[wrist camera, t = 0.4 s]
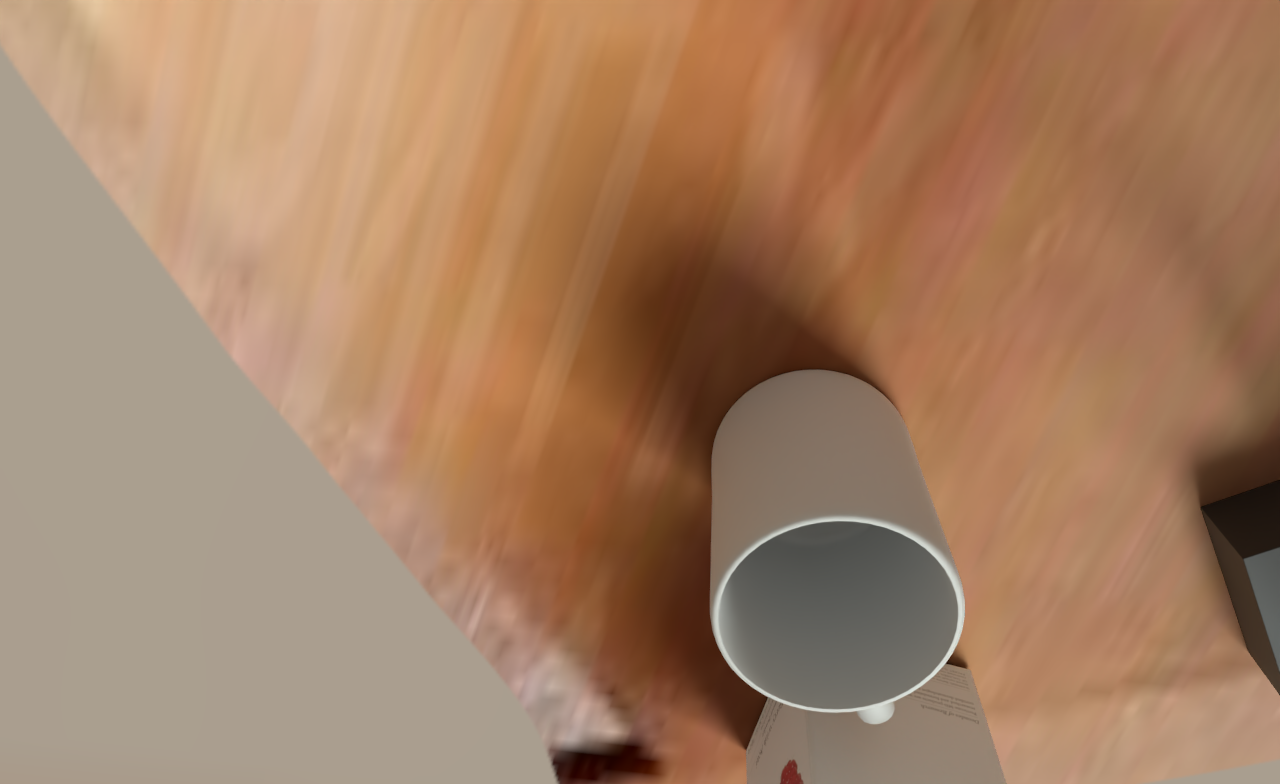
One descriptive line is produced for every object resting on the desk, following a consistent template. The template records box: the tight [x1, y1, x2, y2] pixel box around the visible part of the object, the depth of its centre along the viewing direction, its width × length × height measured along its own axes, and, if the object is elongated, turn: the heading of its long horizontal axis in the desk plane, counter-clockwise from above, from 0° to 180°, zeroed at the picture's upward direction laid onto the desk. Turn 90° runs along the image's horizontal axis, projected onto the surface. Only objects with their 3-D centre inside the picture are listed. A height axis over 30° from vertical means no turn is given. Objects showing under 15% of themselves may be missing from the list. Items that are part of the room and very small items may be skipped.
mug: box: [710, 370, 965, 724], centre depth 37 cm, size 12×8×11 cm
